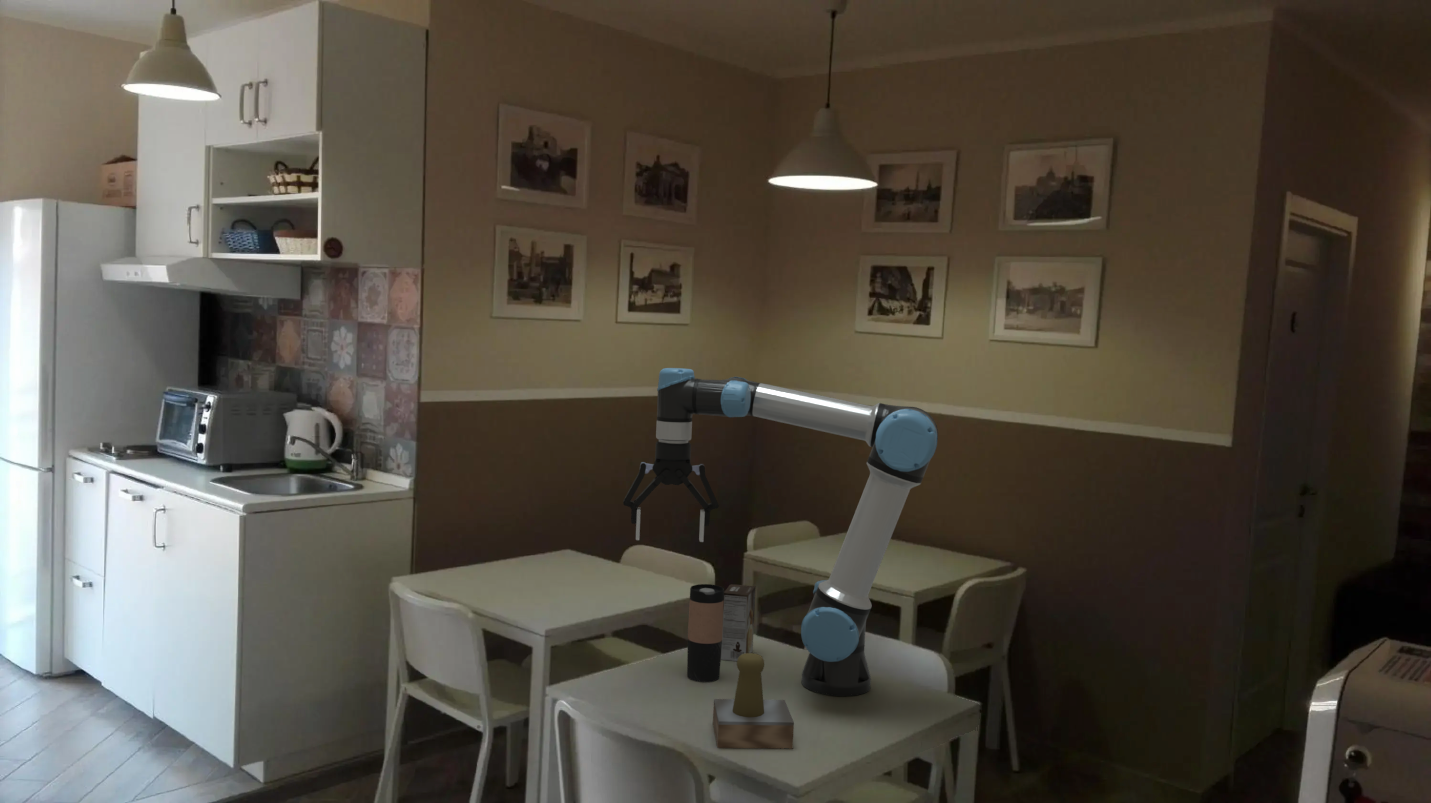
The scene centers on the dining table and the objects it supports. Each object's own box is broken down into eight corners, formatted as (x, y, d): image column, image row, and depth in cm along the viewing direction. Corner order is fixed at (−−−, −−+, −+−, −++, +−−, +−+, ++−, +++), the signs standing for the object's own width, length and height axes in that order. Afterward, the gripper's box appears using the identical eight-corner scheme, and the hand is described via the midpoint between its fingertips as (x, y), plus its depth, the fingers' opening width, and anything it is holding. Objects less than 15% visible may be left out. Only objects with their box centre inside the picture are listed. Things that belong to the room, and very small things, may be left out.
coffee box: (727, 648, 262) (730, 583, 261) (753, 651, 261) (756, 585, 259) (719, 659, 253) (722, 592, 252) (746, 662, 252) (749, 594, 250)
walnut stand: (783, 724, 213) (784, 699, 213) (792, 748, 201) (793, 722, 201) (712, 723, 212) (713, 698, 212) (717, 747, 200) (718, 721, 200)
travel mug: (699, 668, 245) (703, 582, 244) (727, 676, 241) (731, 588, 239) (679, 677, 239) (682, 587, 238) (707, 684, 235) (710, 594, 233)
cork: (732, 704, 209) (735, 649, 208) (763, 706, 209) (766, 650, 208) (732, 716, 203) (735, 658, 202) (764, 717, 203) (767, 660, 202)
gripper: (730, 441, 234) (726, 537, 236) (614, 436, 232) (611, 534, 234) (733, 445, 227) (729, 544, 228) (614, 440, 225) (610, 541, 226)
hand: (669, 539), depth 231 cm, fingers open, 13 cm apart
